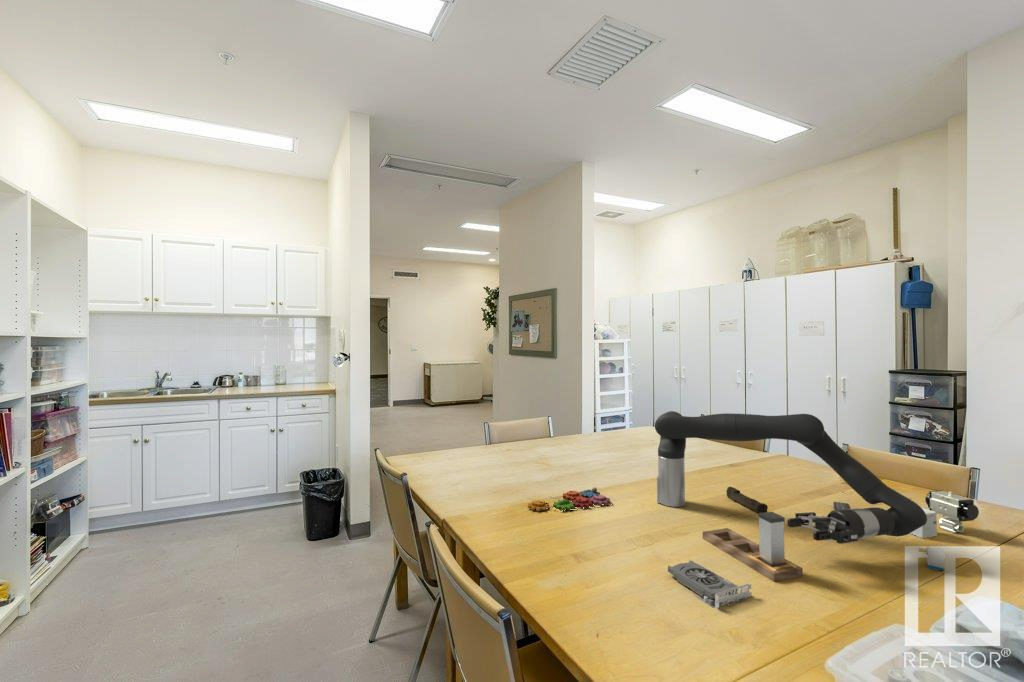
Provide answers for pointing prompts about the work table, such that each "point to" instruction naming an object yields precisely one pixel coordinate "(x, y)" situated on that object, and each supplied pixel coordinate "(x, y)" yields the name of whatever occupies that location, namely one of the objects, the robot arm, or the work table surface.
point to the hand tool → (746, 500)
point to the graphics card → (709, 584)
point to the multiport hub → (841, 506)
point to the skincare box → (927, 526)
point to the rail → (752, 559)
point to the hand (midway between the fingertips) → (801, 529)
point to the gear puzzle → (573, 500)
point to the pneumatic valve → (952, 509)
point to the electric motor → (934, 558)
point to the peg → (771, 539)
